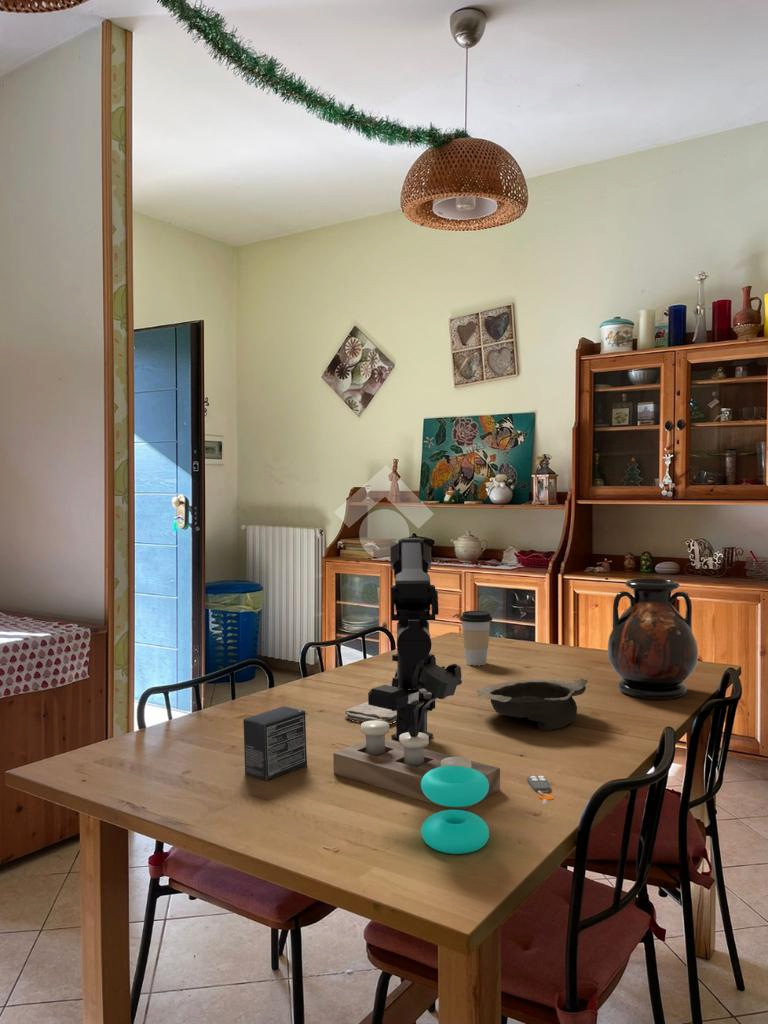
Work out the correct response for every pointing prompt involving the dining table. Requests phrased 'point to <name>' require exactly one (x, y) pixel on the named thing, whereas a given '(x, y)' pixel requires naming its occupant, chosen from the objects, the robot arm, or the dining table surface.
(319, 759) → the dining table surface
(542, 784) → the key chain
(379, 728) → the knob
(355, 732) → the dining table surface
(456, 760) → the knob
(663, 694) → the amphora vase
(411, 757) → the knob middle
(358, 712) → the washcloth
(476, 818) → the donuts
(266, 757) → the small box
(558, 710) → the stone bowl
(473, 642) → the coffee cup
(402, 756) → the mount
